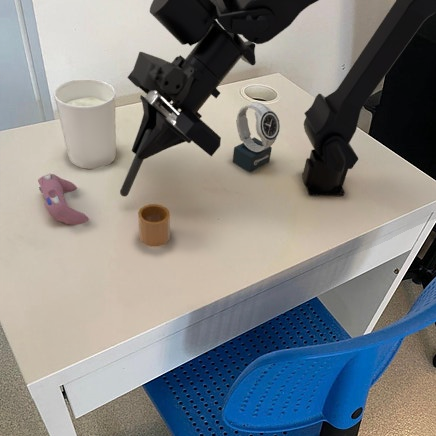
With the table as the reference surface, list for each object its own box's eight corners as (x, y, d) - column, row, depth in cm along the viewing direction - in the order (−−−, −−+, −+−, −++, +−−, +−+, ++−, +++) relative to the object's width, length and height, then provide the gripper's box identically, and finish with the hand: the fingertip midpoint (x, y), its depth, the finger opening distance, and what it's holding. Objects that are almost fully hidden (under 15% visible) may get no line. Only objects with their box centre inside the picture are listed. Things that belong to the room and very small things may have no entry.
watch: (257, 177, 89) (266, 121, 81) (225, 157, 92) (231, 101, 84) (277, 166, 92) (288, 111, 84) (245, 147, 95) (253, 92, 87)
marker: (153, 184, 79) (151, 126, 72) (156, 189, 78) (155, 130, 71) (118, 194, 77) (113, 135, 69) (122, 199, 76) (117, 139, 68)
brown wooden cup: (160, 229, 77) (160, 200, 73) (174, 246, 75) (175, 218, 71) (134, 237, 76) (132, 209, 72) (147, 255, 73) (146, 227, 69)
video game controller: (55, 202, 82) (28, 173, 77) (78, 187, 82) (53, 158, 76) (68, 240, 76) (39, 212, 71) (93, 224, 76) (66, 195, 70)
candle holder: (109, 176, 86) (102, 111, 77) (55, 166, 86) (42, 100, 78) (127, 146, 92) (123, 84, 84) (77, 137, 93) (68, 74, 84)
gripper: (137, 5, 68) (70, 97, 71) (206, 60, 58) (125, 164, 61) (185, 55, 77) (124, 135, 80) (253, 110, 66) (179, 198, 70)
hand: (136, 155), depth 73 cm, fingers closed on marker, 1 cm apart
